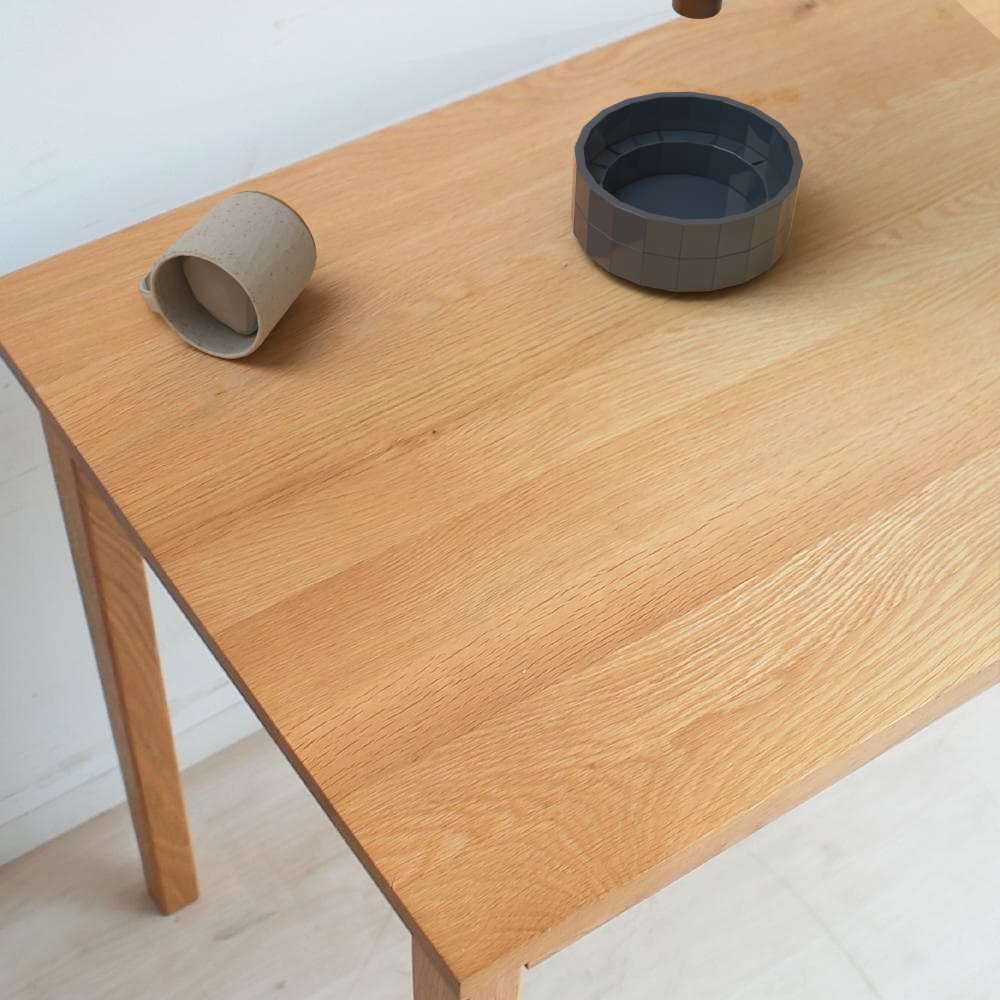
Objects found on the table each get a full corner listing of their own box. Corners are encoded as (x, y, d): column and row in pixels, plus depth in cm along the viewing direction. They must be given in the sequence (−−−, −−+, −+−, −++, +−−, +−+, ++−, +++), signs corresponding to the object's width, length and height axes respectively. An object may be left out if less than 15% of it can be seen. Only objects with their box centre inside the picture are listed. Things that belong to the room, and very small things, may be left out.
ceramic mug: (330, 290, 91) (317, 189, 85) (270, 373, 86) (251, 271, 80) (184, 254, 94) (161, 153, 88) (117, 332, 89) (88, 231, 83)
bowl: (729, 150, 101) (739, 74, 97) (826, 272, 92) (843, 195, 88) (540, 192, 98) (542, 115, 94) (622, 322, 89) (628, 245, 85)
